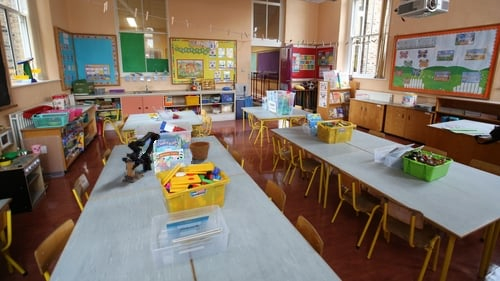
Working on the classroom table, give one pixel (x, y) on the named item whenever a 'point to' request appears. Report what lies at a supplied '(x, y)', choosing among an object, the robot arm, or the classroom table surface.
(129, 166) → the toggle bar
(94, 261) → the classroom table surface
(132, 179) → the keeper
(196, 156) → the flower pot
